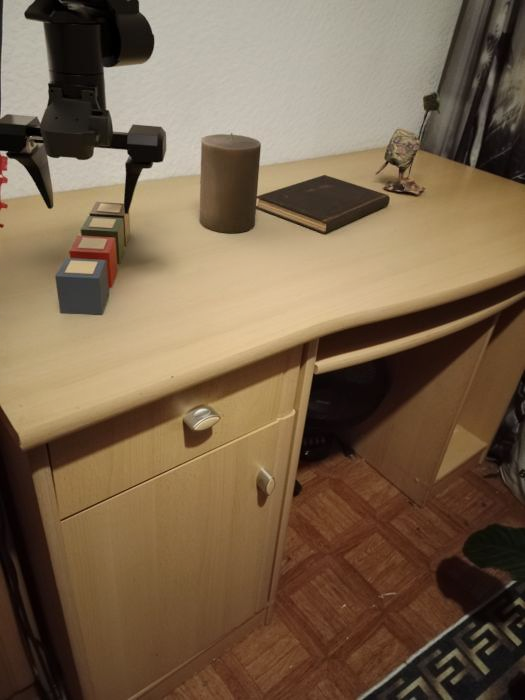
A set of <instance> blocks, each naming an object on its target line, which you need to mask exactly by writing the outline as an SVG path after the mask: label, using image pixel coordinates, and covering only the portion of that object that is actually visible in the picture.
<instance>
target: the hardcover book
mask: <svg viewBox="0 0 525 700" xmlns="http://www.w3.org/2000/svg"><path fill="white" fill-rule="evenodd" d="M390 201H391V197H390V196H389V194H386V193H383V192H380V191H377V190H374V189H370V188H367V187H365V186H362V185H358V184H355V183H352V182H349V181H345V180H342V179H339V178H336V177H334V176H333V177H332V176H330V175H326V174H323V175H320V176H316V177H314V178H309V179H307V180H304V181H300V182H297V183H293V184H291V185H288V186H284V187H282V188H279V189H278V188H277V189H275V190H272V191H269V192H266V193H265V192H264V193H261V194H259V195H257V202H256V204H257V205H256V210H259V211H261V212H264V213H267V214H270V215H272V216H274V217H277V218H280V219H283V220H286V221H288V222H291V223H293V224H295V225H299V226H301V227H304V228H306V229H308V230H312V231H314V232H316V233H319V234H322V235H324V234H326V233H329V232H331V231H333V230H337V229H338V228H341V227H342V226H344V225H346V224H347V225H348V224H349V223H352V222H353V221H356V220H358V219H361V218H362V217H365V216H367V215H369V214H371V213H373V212H375V211H378V210H381V209H382V208H385V207H387V206H389V204H390Z"/></svg>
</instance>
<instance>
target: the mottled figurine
mask: <svg viewBox="0 0 525 700" xmlns="http://www.w3.org/2000/svg"><path fill="white" fill-rule="evenodd" d="M422 104H423V110H424V114H423V119H422V120H423V121H422V122H421V123H422V124H421V126H420V129H419V133H418V134H419V135H418V134H415V133H413V132H411V131H409V130H407V129H405V128H396V130H395V131H394V132H393V134H392V136H391V138H390V139H389V143H388V144H387V146H386V149H385V152H384V157H383V158H384V160H385V162H383V163H384V164H382V165H381V167H380V168H378V170H377V171H375V173H374V175H375V176H376V175H378V174H380V172H381V171H383V170H384V169H385V168H386V167H387V166H388V165H389V164H390V165H391V166H394V167H396V168H398V177H397V180H396V181H395V180H391V181H390V180H388V181H387V182H386V184H385V185H384V186H383V187H382V189H385V190H390V191H391V192H392V191H393V192H407V193H413V194H414V195H420V194H421V193H422V191H425V190H426V187H421V186H420V185H418V184H417V183H416V182H415V181H416V180H415V178H412V177H410V175H411V170H412V166H413V163H414V160H415V158H416V156H417V153H418V151H419V149H420V147H421V144H422V143H421V142H422V141H421V135H422V132H423V128H424V124H425V122H426V119H427V118H428V115H429V114H428V113H429V112H431V111H434V112H437V114H441V111H440V107H441V101H440V96H439V92H437V91H432V92H430V93H427V94H425V95H424V96H423V97H422ZM407 169H409V170H408V175H407V177H404V176H405V173H406V171H407ZM420 187H421V188H420ZM404 189H405V190H404Z"/></svg>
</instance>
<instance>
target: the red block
mask: <svg viewBox="0 0 525 700" xmlns="http://www.w3.org/2000/svg"><path fill="white" fill-rule="evenodd" d="M68 253H69V258H78V259H95V260H106V261H107V274H108V287H109V288H113V285H114V282H115V280H116V277H117V273H118V270H119V269H118V268H119V267H118V264H117V253H116V238H112V237H95V236H81V235H76V238H75V239H74V242H73V243H72V245H71V246H70V248H69V250H68Z"/></svg>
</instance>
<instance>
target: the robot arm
mask: <svg viewBox="0 0 525 700" xmlns="http://www.w3.org/2000/svg"><path fill="white" fill-rule="evenodd" d="M23 15H24V18H25V19H26V20H28V21H33V22H39V23H42V25H43V26H42V27H43V34H44V44H45V51H46V61H47V68H48V77H49V82H48V83H47V87H48V89H47V92H48V93H47V94H48V99H47V105H46V108H45V109H44V112H43V115H42V118H41V121H40V119H39V117H38V116H35V115H24V114H23V115H22V114H11V113H7V114H4V116H2V117H1V118H0V152H5V155H6V158H7V159H11V160H16V161H17V162H18V163H19V164H20V165H22V166H23V167H24V168H25V170H26V171H27V173H28V175H29V176H30V178H31V179H32V181H33V182H34V184H35V187H36V188H37V190H38V192H39V194H40V196H41V198H42V200H43V202H44V204H45V205H46V207H47V209H48V210H52V209H53V208H54V191H53V184H52V178H51V177H52V176H51V172H50V166H49V158H51V159H59V158H70V159H71V158H73V159H77V161H87V160H90V159H92V157H93V156H94V153H95V148H96V149H97V148H98V149H109V150H125V151H126V153H127V155H128V157H127V159H126V161H125V163H124V166H125V167H124V168H125V179H124V180H125V181H124V196H123V204H124V210H125V214H128V212H129V213H130V209H131V205H132V202H133V200H134V199H133V198H134V195H135V191H136V188H137V185H138V181H139V179H140V176H141V174H142V172H143V170H144V169H147V170H148V169H151V168H153V165H154V163H163V162H164V159H165V156H166V153H167V132H166V130H165V129H164V128H163V127H162V126H159V125H158V126H155V125H146V124H145V125H143V124H132V125H131V127H130V128H129V130H128V132H124V131H114V128H113V119H112V115H111V113H110V110H109V109H107V99H106V98H107V97H106V81H105V80H106V79H105V68H106V69H107V68H117V67H127V66H134V65H143V64H145V63H147V62H148V61H149V60H150V58H151V57H152V55H153V53H154V49H155V34H154V33H153V29H152V27H151V24H150V22H149V21H148V19H147V18H146V16H145V15H144V14H143V13H142V12H140V1H139V0H34V1H33V2H32V3H31V4H29V6H28V7H27V8H26V10H25V11H24V14H23Z"/></svg>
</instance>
